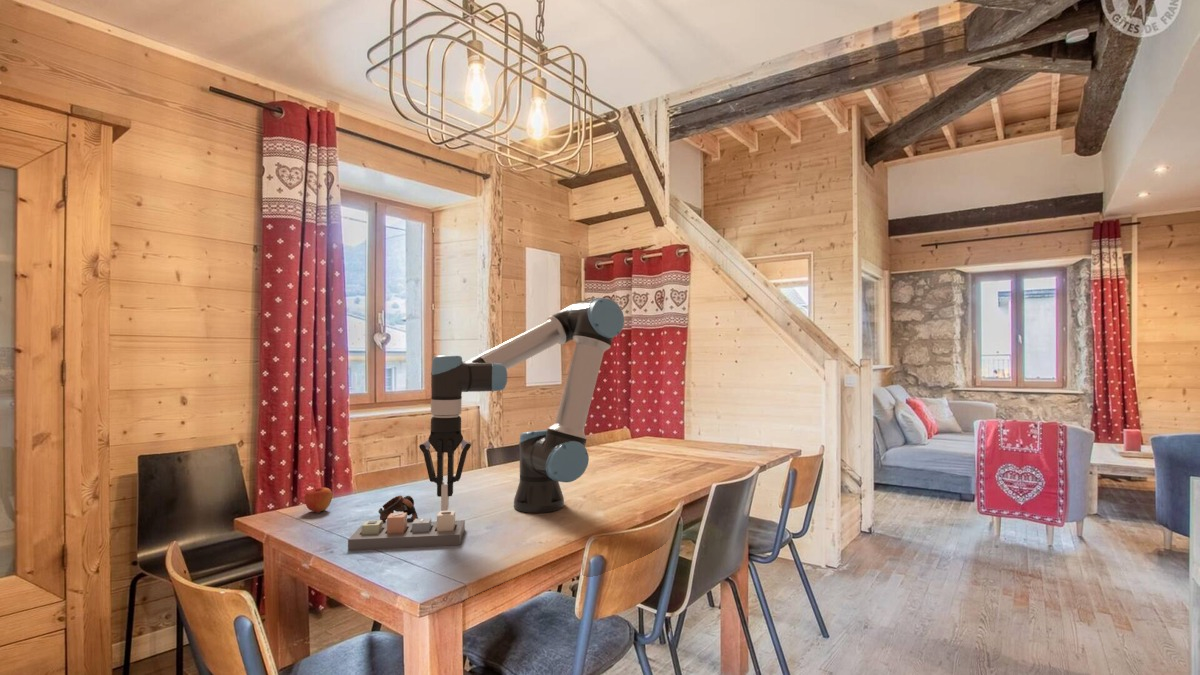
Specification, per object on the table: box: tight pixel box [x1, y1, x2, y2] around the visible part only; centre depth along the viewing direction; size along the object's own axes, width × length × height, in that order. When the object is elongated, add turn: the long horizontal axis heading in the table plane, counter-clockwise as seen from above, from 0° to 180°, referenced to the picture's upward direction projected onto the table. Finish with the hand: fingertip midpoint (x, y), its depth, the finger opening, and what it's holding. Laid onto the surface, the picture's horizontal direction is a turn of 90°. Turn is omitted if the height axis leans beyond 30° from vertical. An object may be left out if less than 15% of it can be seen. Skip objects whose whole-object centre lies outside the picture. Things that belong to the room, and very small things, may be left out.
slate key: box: [411, 517, 432, 532], centre depth 145 cm, size 4×4×4 cm
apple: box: [304, 485, 333, 514], centre depth 170 cm, size 7×7×8 cm
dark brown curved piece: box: [377, 495, 419, 523], centre depth 160 cm, size 12×9×8 cm
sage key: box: [361, 519, 384, 535], centre depth 143 cm, size 4×4×4 cm
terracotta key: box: [386, 512, 408, 533], centre depth 144 cm, size 4×4×4 cm
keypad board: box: [347, 519, 466, 551], centre depth 144 cm, size 26×12×2 cm, turn 97°
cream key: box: [436, 510, 456, 531], centre depth 146 cm, size 4×4×4 cm
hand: (444, 509), depth 145 cm, fingers closed
